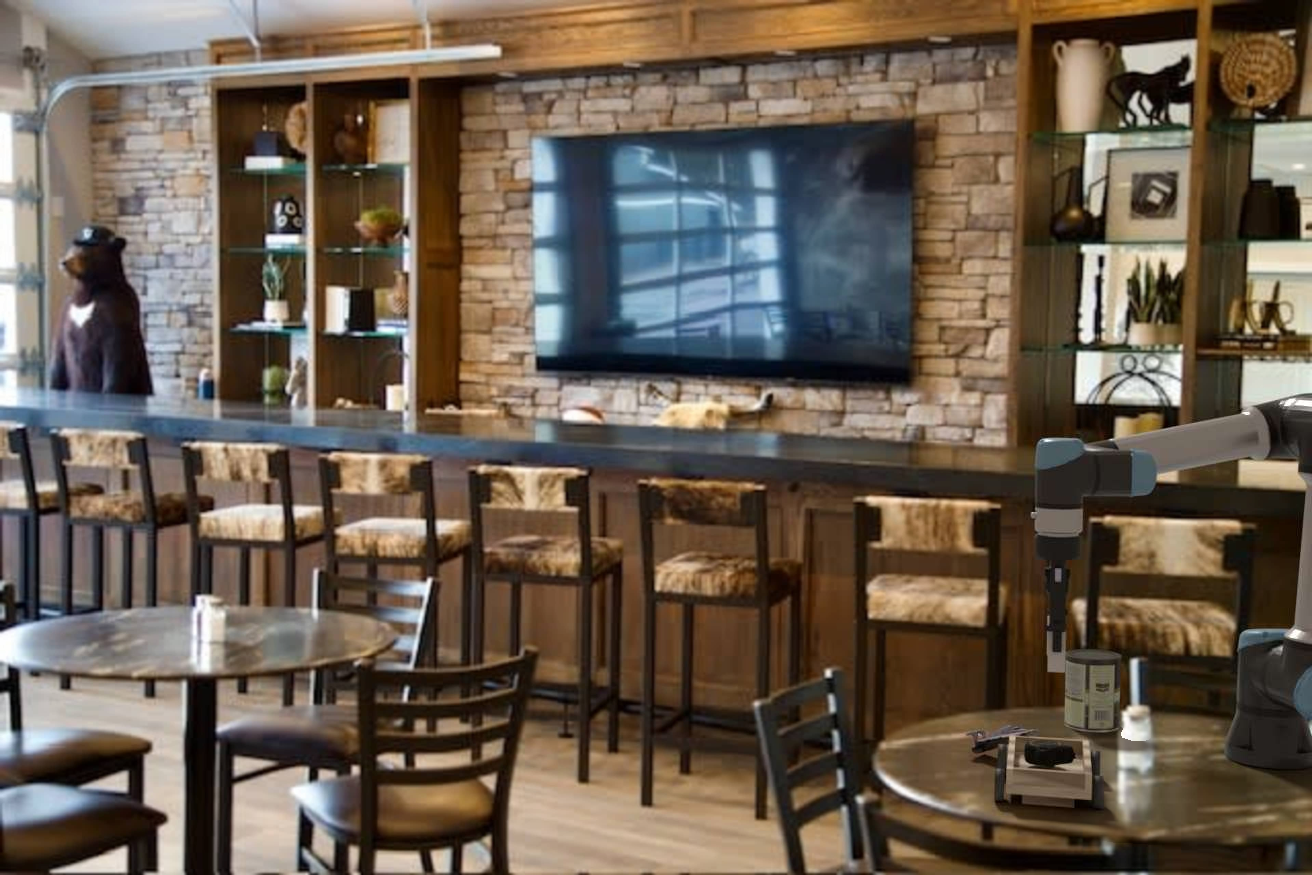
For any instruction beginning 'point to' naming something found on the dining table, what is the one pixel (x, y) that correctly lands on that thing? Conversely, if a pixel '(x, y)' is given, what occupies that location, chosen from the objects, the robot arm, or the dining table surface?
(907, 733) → the dining table surface
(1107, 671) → the coffee can
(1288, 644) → the robot arm
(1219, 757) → the dining table surface
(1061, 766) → the cart
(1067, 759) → the tape measure
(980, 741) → the toy race car
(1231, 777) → the dining table surface
